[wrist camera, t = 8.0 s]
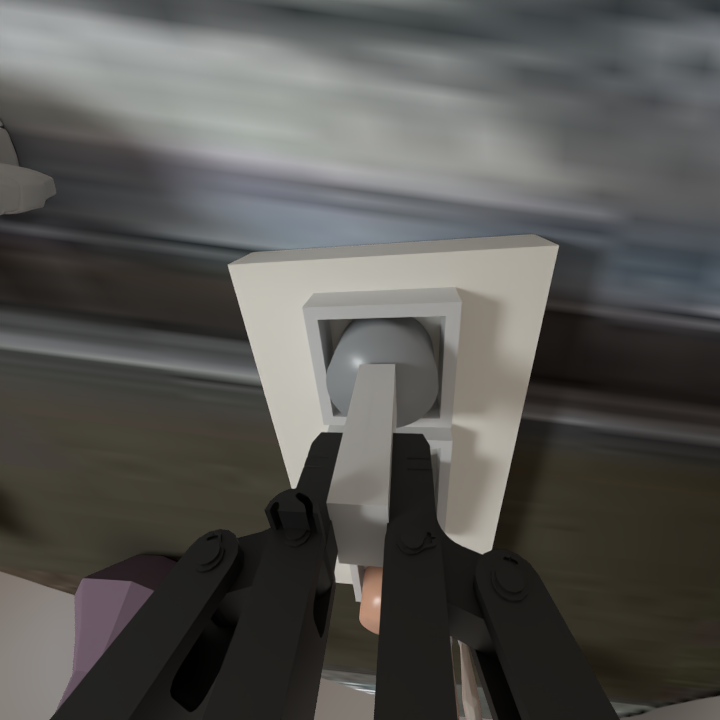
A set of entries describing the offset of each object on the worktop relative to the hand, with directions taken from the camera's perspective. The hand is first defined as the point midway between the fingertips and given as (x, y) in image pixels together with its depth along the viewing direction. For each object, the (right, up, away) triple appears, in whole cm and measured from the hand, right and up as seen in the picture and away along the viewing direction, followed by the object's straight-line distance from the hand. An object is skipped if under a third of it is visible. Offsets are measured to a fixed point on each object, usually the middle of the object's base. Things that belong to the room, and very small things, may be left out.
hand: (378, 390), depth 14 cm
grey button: (0, +2, +3) cm, 3 cm away
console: (+2, -5, +11) cm, 12 cm away
